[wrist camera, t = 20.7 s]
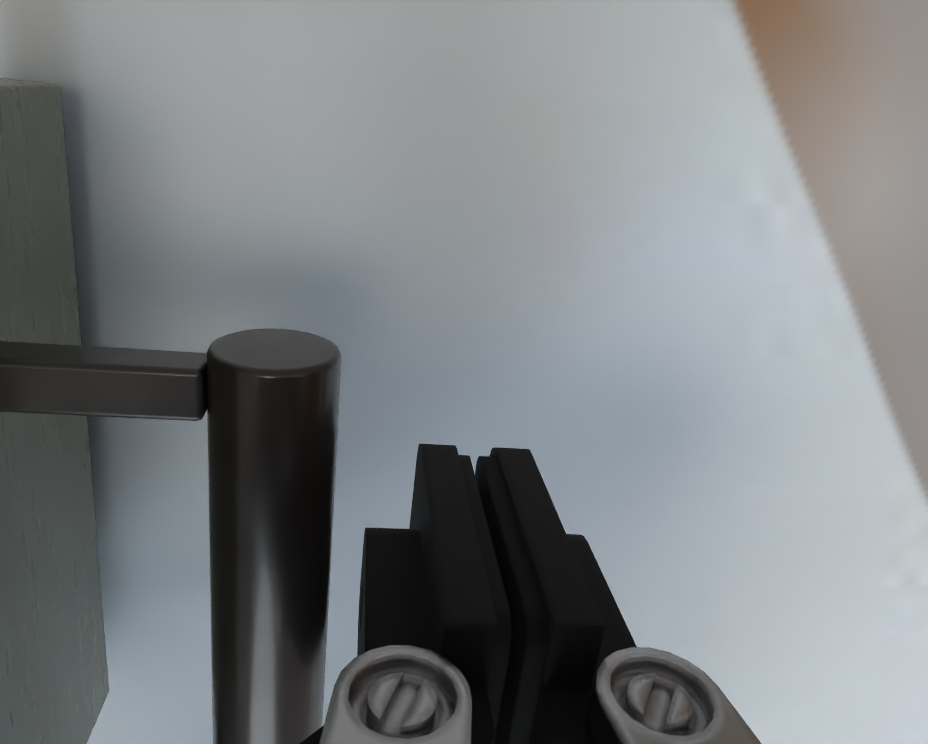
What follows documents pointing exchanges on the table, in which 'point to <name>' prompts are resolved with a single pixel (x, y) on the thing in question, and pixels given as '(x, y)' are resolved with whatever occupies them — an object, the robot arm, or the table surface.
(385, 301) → the table surface
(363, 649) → the robot arm
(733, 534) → the table surface
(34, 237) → the drawer
